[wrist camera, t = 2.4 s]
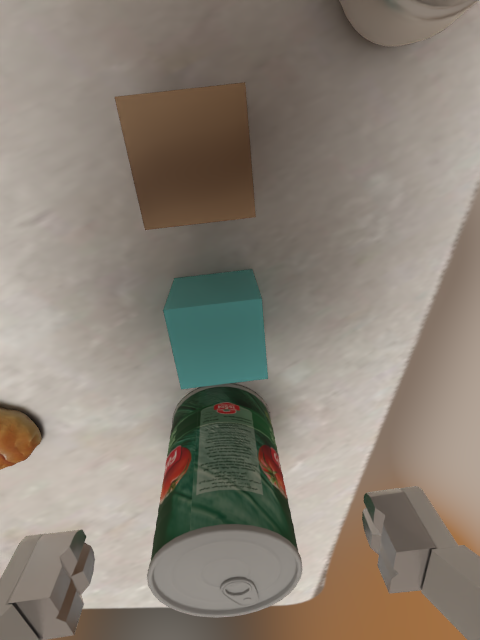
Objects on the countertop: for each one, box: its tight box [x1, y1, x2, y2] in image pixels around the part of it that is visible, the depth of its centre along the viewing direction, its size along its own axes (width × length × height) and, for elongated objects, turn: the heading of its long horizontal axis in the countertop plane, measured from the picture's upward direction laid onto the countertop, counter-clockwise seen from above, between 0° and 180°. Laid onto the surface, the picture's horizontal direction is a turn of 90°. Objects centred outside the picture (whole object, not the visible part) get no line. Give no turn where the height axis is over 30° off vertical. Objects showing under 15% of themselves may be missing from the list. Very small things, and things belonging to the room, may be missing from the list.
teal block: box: [163, 269, 268, 389], centre depth 20 cm, size 5×5×5 cm
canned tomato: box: [147, 384, 302, 617], centre depth 21 cm, size 8×8×11 cm
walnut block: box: [115, 82, 256, 230], centre depth 16 cm, size 5×5×5 cm
